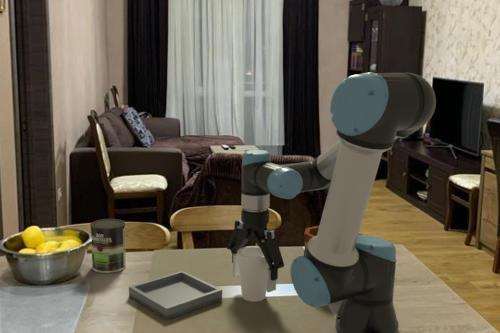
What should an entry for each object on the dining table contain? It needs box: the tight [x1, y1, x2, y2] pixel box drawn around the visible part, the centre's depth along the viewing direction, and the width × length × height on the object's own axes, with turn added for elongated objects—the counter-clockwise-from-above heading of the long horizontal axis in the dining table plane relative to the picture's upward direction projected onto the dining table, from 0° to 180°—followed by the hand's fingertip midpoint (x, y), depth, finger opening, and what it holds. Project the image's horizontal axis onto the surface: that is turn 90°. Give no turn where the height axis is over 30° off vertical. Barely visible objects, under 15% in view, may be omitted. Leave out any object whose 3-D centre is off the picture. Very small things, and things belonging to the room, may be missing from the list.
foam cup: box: [237, 245, 270, 303], centre depth 162 cm, size 10×9×13 cm
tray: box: [128, 270, 223, 320], centre depth 161 cm, size 18×18×3 cm
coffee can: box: [90, 218, 127, 274], centre depth 182 cm, size 10×10×14 cm
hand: (253, 282), depth 163 cm, fingers open, 13 cm apart
